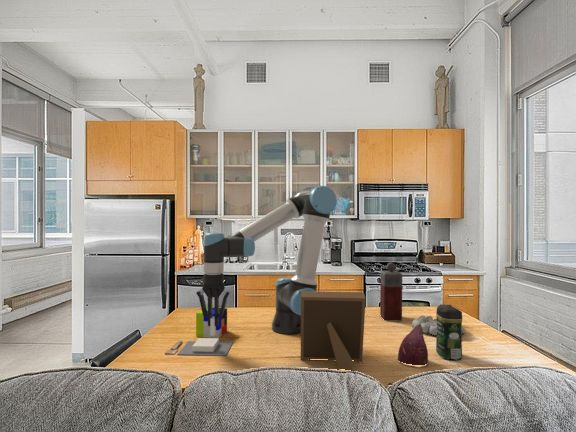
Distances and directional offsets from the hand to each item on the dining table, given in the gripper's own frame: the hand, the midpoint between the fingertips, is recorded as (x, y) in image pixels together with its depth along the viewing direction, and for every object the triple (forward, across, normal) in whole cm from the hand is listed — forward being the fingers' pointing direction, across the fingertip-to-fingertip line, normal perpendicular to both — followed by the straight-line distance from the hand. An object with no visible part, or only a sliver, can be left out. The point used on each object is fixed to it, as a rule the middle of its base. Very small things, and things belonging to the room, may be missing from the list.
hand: (213, 334), depth 142 cm
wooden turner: (+6, +15, 0) cm, 16 cm away
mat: (+6, +3, 0) cm, 6 cm away
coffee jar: (+6, -88, +3) cm, 89 cm away
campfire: (+6, -96, -26) cm, 99 cm away
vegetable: (+6, -73, +9) cm, 74 cm away
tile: (+4, -1, 0) cm, 4 cm away
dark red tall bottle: (+5, -80, -47) cm, 92 cm away
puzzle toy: (+6, +4, -18) cm, 20 cm away
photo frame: (+6, -44, +13) cm, 47 cm away
